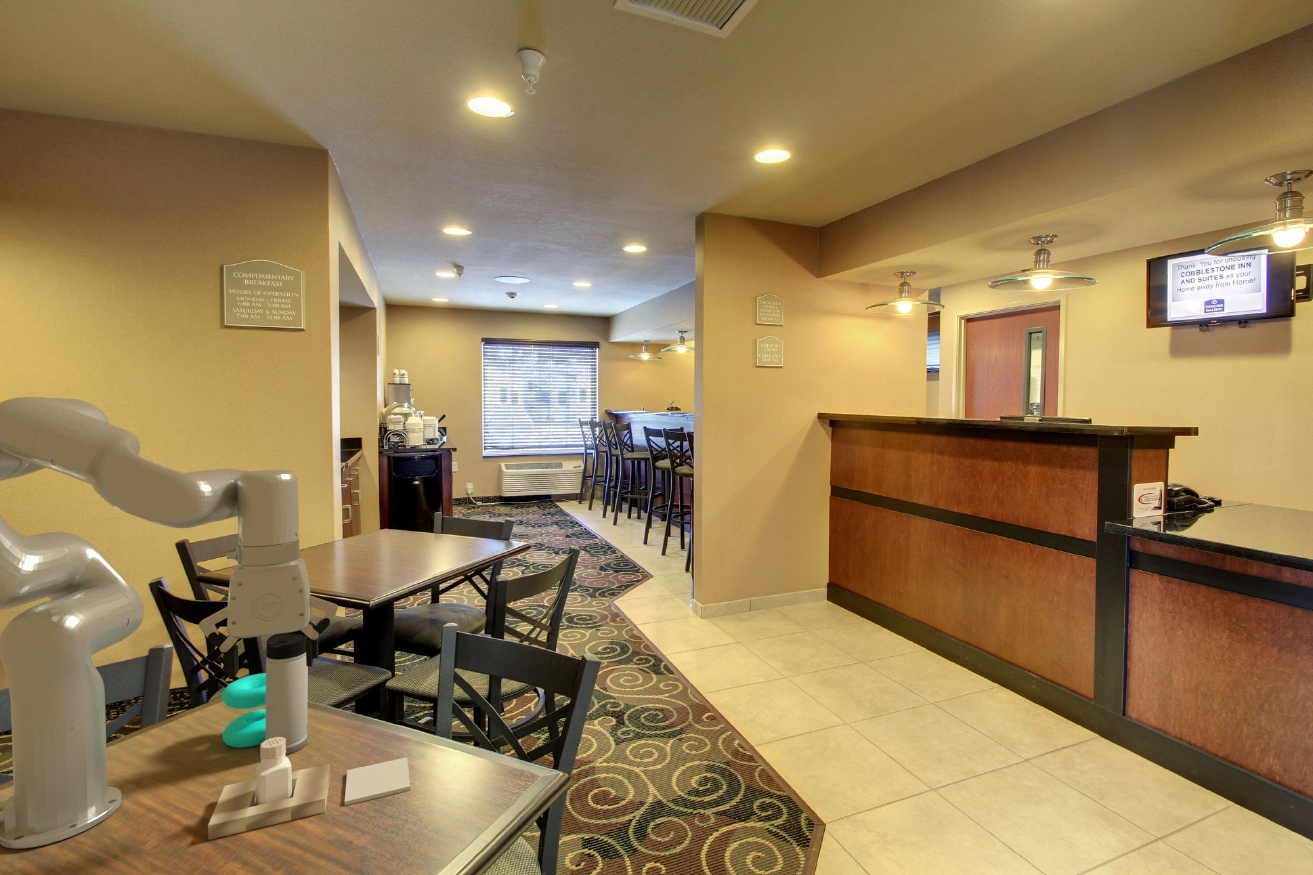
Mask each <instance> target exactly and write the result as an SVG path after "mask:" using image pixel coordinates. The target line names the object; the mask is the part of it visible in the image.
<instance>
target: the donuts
mask: <svg viewBox="0 0 1313 875" xmlns="http://www.w3.org/2000/svg"><path fill="white" fill-rule="evenodd" d="M221 700H222V702H223V704H224V705H225V706H227V707H229V708H232V709H236V710H237V709H239V710H245V709H246V710H248V709H254V708H259V707H262V706H266V672H264V673H263V672H262V673H256V674H251V675H249V676H245V677H242V678H239V679H236V680H234V681H233V682H231V683H230V684H228V685H227V686H226V687H225V688H224V689H223V691H222V693H221ZM222 741H223V742H224V743H225V744H226V745H227V746H229V747H232V748H252V747H256V746H259V745H260V746H261V743H263V742H264V741H266V708H262V709H257V710H252V711H249V712H246V713H244V714H241V715H240V716H238V717H236V718H234V719H233V720H232V721H230V722H229V723H228V724H227V725H226V727H225V728H224V730H223V731H222Z"/></svg>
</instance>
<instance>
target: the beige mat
mask: <svg viewBox="0 0 1313 875" xmlns="http://www.w3.org/2000/svg"><path fill="white" fill-rule="evenodd" d="M408 791H411V782H410V769H409V760H408V757H403V758H397V759H393V760H388V761H383V762H378V763H374V764H370V765H365V766H360V767H356V768H351V769H347V770H346V782H345V793H344V794H345V795H344V806H348V805H353V804H357V803H361V802H365V801H369V800H374V799H379V798H382V797H387V796H391V795H395V794H399V793H403V792H408Z"/></svg>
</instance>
